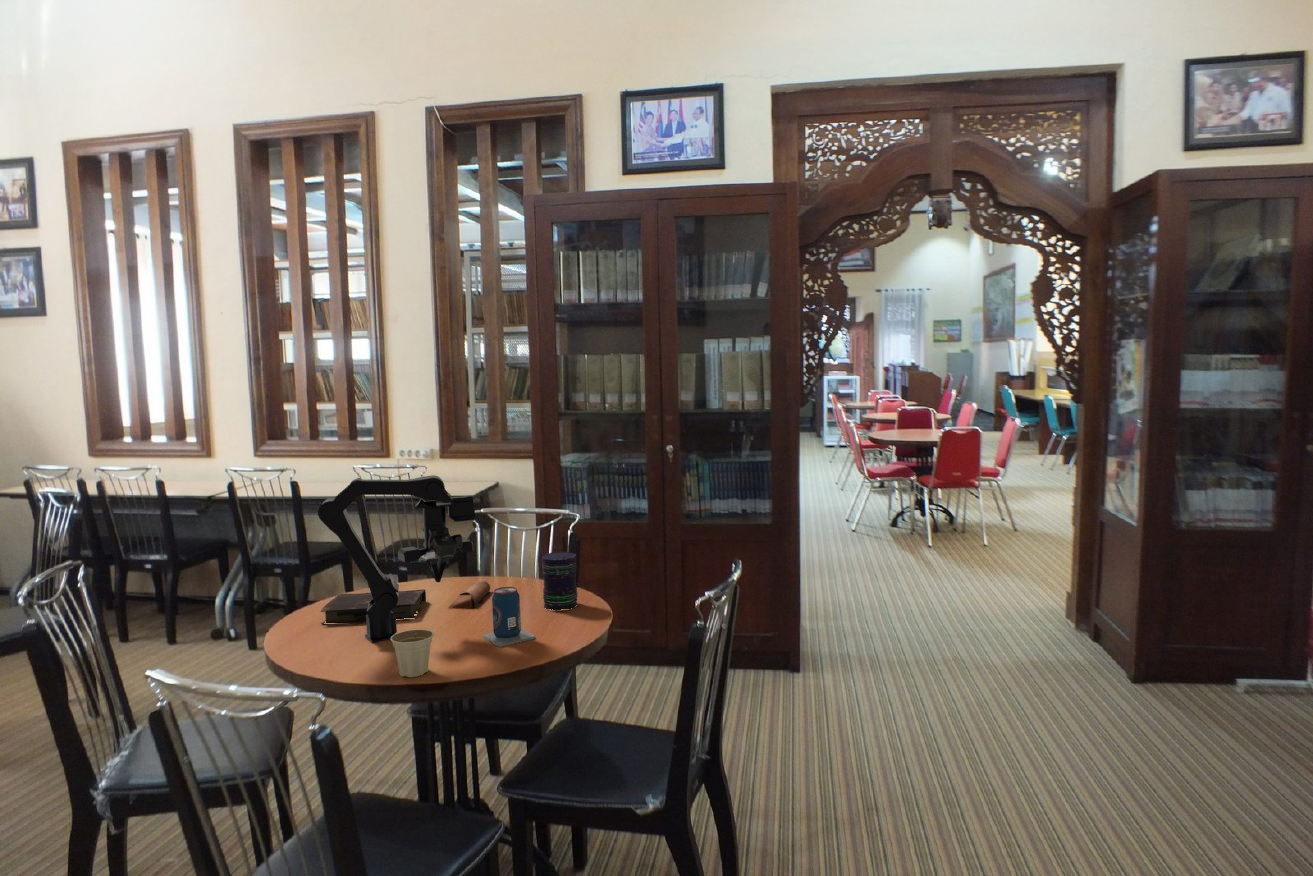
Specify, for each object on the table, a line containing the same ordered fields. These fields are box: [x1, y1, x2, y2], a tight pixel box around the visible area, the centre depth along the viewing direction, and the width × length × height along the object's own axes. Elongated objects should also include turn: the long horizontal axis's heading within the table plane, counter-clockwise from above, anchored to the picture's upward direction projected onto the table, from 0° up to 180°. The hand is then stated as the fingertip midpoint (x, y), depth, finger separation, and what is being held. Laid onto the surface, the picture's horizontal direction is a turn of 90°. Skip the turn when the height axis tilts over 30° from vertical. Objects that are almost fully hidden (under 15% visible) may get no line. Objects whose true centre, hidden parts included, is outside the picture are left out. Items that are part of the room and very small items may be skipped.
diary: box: [320, 588, 427, 625], centre depth 220 cm, size 19×25×5 cm
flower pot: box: [390, 628, 435, 678], centre depth 173 cm, size 9×9×9 cm
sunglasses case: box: [448, 580, 491, 610], centre depth 231 cm, size 18×7×7 cm, turn 179°
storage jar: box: [541, 551, 578, 610], centre depth 221 cm, size 10×10×15 cm
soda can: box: [491, 586, 522, 640], centre depth 195 cm, size 7×7×12 cm
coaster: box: [481, 628, 536, 648], centre depth 195 cm, size 10×10×1 cm
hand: (438, 582), depth 202 cm, fingers closed
